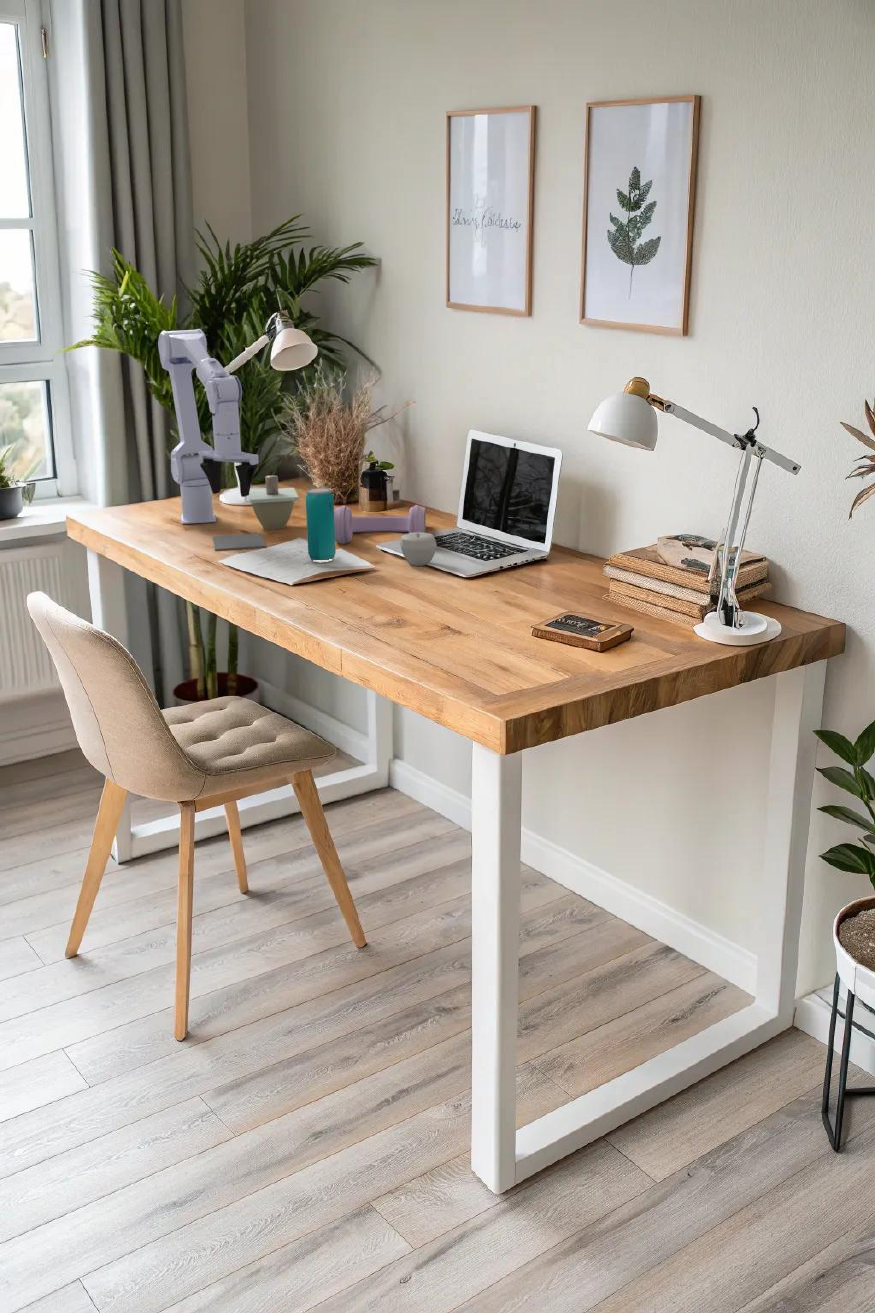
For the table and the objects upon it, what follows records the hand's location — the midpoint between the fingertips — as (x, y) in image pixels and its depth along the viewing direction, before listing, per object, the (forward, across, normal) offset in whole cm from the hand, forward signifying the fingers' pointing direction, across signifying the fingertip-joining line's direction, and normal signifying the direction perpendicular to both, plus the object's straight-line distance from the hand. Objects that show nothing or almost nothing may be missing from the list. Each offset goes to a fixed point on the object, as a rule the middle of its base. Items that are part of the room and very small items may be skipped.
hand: (230, 494), depth 277 cm
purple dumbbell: (+11, +30, +16) cm, 35 cm away
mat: (+10, +3, -2) cm, 11 cm away
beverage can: (+10, +28, -8) cm, 31 cm away
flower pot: (+10, +2, +13) cm, 17 cm away
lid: (+3, +2, +13) cm, 14 cm away
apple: (+10, +48, -3) cm, 49 cm away
